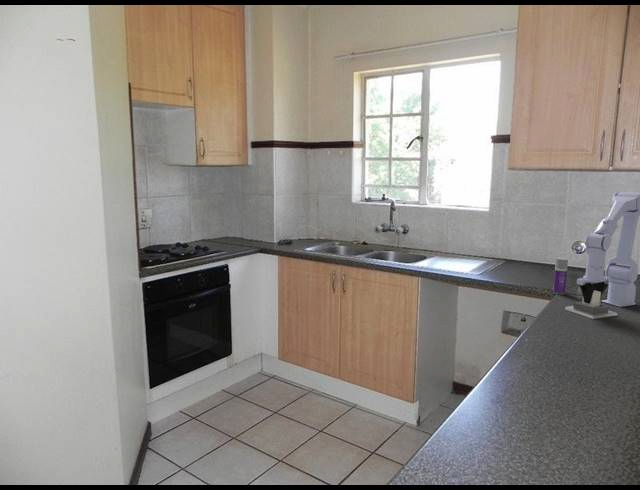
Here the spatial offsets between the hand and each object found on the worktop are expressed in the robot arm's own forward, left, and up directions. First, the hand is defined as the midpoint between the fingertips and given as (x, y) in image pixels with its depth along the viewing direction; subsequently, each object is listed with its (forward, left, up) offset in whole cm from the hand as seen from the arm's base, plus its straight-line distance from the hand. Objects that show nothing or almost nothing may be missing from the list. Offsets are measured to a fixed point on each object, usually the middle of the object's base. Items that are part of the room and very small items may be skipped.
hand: (591, 302), depth 174 cm
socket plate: (0, 0, -4) cm, 4 cm away
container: (-12, -25, -4) cm, 28 cm away
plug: (0, 0, -2) cm, 2 cm away
